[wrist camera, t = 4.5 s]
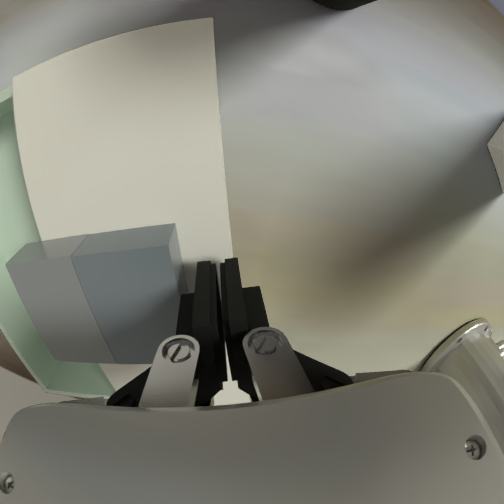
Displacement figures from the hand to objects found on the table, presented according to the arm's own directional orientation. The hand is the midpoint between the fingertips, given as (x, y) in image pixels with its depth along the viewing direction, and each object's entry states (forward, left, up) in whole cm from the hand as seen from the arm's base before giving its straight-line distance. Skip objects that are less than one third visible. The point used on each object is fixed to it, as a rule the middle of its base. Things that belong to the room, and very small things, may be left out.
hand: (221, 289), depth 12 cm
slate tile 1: (+4, 0, -1) cm, 4 cm away
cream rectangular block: (+4, 0, -6) cm, 7 cm away
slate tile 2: (+8, 0, -1) cm, 8 cm away
